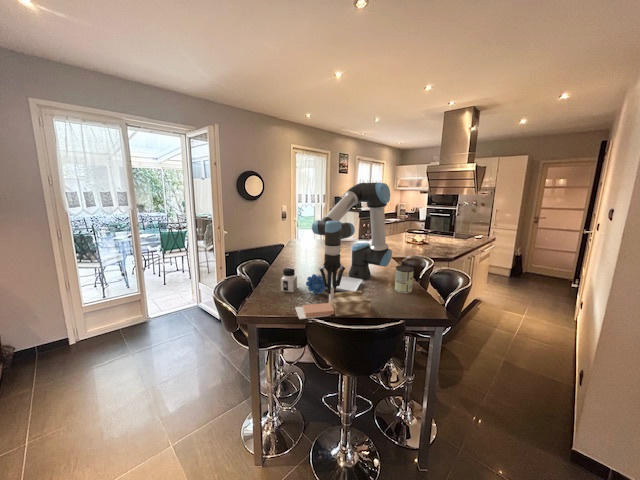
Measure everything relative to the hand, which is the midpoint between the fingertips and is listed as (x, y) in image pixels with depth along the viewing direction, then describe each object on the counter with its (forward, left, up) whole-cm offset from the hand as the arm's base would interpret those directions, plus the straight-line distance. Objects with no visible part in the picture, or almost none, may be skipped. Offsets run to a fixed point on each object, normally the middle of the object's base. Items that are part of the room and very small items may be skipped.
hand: (331, 299), depth 129 cm
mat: (+9, -1, -6) cm, 11 cm away
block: (+7, 0, -6) cm, 9 cm away
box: (-10, 0, -6) cm, 11 cm away
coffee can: (-51, -16, -6) cm, 53 cm away
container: (+16, -32, -6) cm, 37 cm away
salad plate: (-17, -29, -7) cm, 34 cm away
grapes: (+2, -21, -6) cm, 22 cm away
